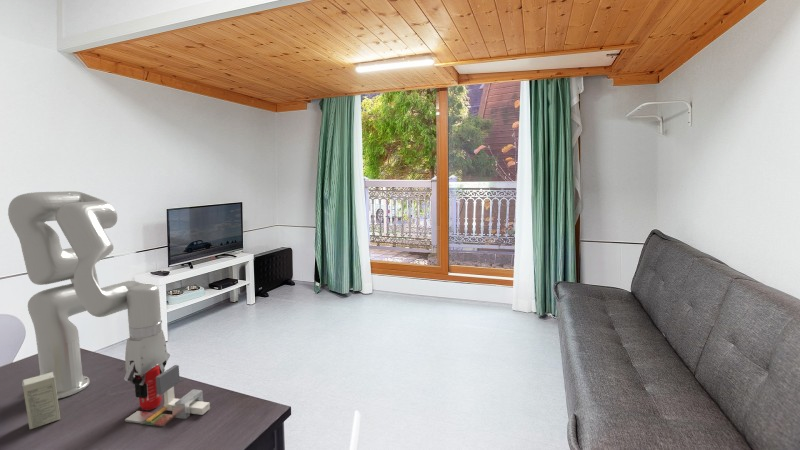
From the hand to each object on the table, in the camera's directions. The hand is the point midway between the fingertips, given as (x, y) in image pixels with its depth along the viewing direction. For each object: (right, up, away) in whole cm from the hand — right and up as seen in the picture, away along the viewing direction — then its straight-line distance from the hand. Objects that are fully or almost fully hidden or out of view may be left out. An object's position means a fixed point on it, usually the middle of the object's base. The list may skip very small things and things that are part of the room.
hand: (150, 390), depth 111 cm
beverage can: (0, -5, 0) cm, 5 cm away
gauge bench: (+6, -5, -3) cm, 8 cm away
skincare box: (-24, -5, -7) cm, 25 cm away
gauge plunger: (+11, -5, -4) cm, 12 cm away
